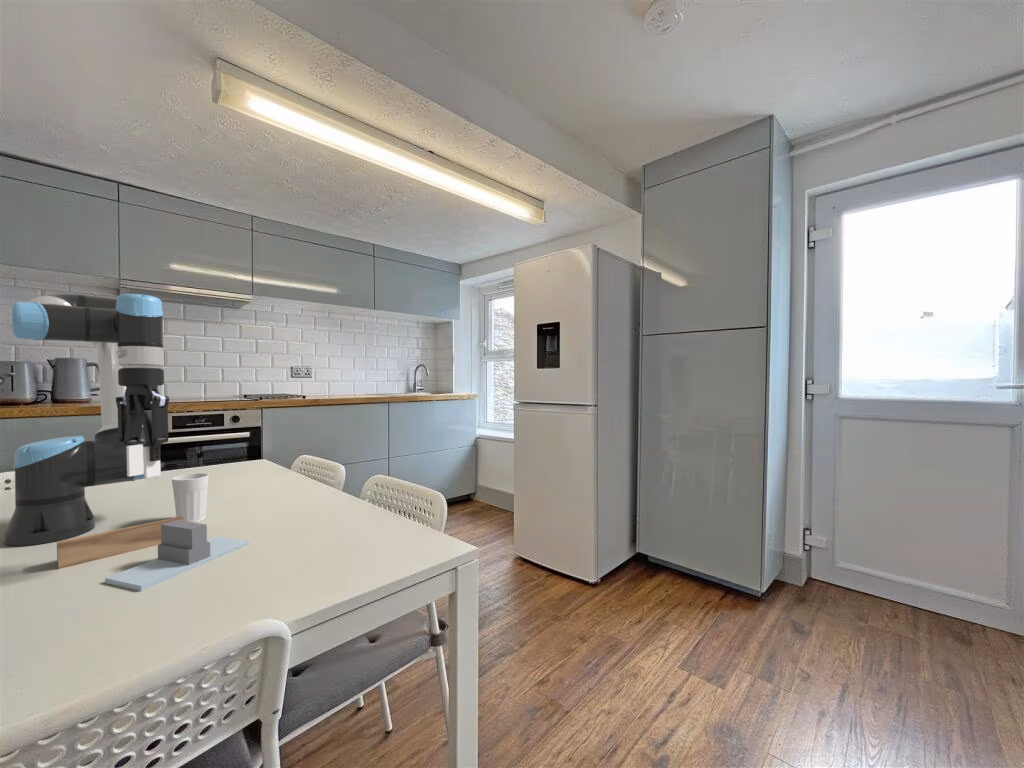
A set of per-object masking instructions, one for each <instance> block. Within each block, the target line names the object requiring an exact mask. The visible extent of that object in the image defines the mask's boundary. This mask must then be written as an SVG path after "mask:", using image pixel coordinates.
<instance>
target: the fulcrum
mask: <svg viewBox="0 0 1024 768" xmlns="http://www.w3.org/2000/svg"><path fill="white" fill-rule="evenodd" d="M207 526H208V525H207V524H205V523H199V522H186V521H179V520H175V521H171V522H168V523H165V524H161V544H159V545H157V558H155V559H152V560H150V561H147V562H144V563H142V564H139V565H136V566H133V567H132V568H128V569H125V570H123V571H119V572H117V573H114V574H111V575H108V576H107V577H104V583H105V584H108V585H113V586H116V587H117V586H118V587H122V588H126V589H130V590H134V591H139V592H142V591H145V590H148V589H149V588H151V587H154V586H157V585H159V584H160V583H164V582H166V581H168V580H170V579H173V578H175V577H178V576H179V575H183V574H184V573H186V572H189V571H191V570H194V569H196V568H198V567H201V566H204V565H205V564H208V563H210V562H212V560H213V561H216V560H217V559H219V557H220V558H222V557H223V556H226V554H227V555H229V554H231V553H233V551H234V552H236V551H238V550H241V549H242V547H243V548H245V547H247V546H250V545H251V544H250V541H248V540H243V539H238V538H237V539H236V538H230V537H223V536H219V535H217V536H215V537H212V538H210V539H208V536H207V535H208V529H207V528H208V527H207ZM235 550H236V551H235Z"/></svg>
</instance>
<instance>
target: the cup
mask: <svg viewBox="0 0 1024 768" xmlns="http://www.w3.org/2000/svg"><path fill="white" fill-rule="evenodd" d="M209 475H210V474H209V473H205V472H203V473H202V472H197V473H196V472H195V473H186V474H181V475H177V476H174V477H172V478H171V484H172V491H173V500H174V509H175V518H176V517H181V516H182V517H183V518H184V519H185V520H186V522H193V523H198V522H199V521H203V520H204V519H206V517H207V514H206V513H207V501H208V491H209V490H208V488H209V487H208V486H209V478H210V477H209Z"/></svg>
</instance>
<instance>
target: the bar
mask: <svg viewBox="0 0 1024 768" xmlns="http://www.w3.org/2000/svg"><path fill="white" fill-rule="evenodd" d="M175 520H179V521H186V520H185V519H184V518H183V517H182V516H181V517H176V516H175V517H172V518H166V519H163V520H156V521H152V522H146V523H142V524H137V525H133V526H132V525H130V526H128V527H123V528H122V527H121V528H118V529H112V530H108V531H103V532H98V533H93V534H86V535H82V536H76V537H71V538H67V539H63V540H58V541H56V559H57V560H56V563H57V564H56V565H57V567H58V568H57V569H59V570H60V569H65V568H68V567H69V568H71V567H73V566H78V565H81V564H86V563H90V562H94V561H99V560H103V559H107V558H111V557H114V556H118V555H122V554H127V553H130V552H135V551H140V550H144V549H148V548H152V547H156V546H158V545H159V544H161V524H165V523H168V522H171V521H175Z"/></svg>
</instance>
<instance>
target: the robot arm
mask: <svg viewBox="0 0 1024 768" xmlns="http://www.w3.org/2000/svg"><path fill="white" fill-rule="evenodd" d="M162 302H163V301H162V300H161V299H160V298H159V297H156V296H153V295H149V294H139V293H122V294H119V295H118V296H117V297H116V298H115V297H107V296H106V297H104V296H97V295H96V296H94V295H87V294H84V295H82V294H74V293H55V294H46V295H39V296H36V297H34V298H30V300H28V301H26V302H25V301H17V302H14V303H13V304H12V305H11V328H12V330H11V332H12V335H13V336H14V337H15V338H16V339H22V340H33V341H55V342H57V341H64V342H86V343H90V345H91V346H92V347H95V348H96V349H97V363H98V364H97V366H98V381H99V396H100V397H99V401H100V414H101V415H100V417H101V428H100V429H99V430H98V431H96V432H95V433H94V440H85V437H84V436H83V435H73V436H72V435H71V436H63V437H56V438H50V439H46V440H45V439H44V440H40V441H35V442H32V443H28V444H25V445H21V446H20V447H18V448H17V449H16V450H15V452H14V462H13V463H14V464H13V466H12V467H13V469H14V495H15V497H14V500H15V508H14V511H13V513H12V516H11V518H10V520H9V523H8V525H7V527H6V530H5V532H4V544H5V545H6V546H13V547H18V546H19V547H21V546H22V547H23V546H34V545H40V544H42V545H43V544H47V543H53V542H57V541H62V540H67V539H71V538H75V537H78V536H81V535H82V534H86V533H88V532H90V531H92V530H93V529H95V528H96V519H95V518H96V517H95V515H94V513H93V512H92V510H91V508H90V505H89V504H88V501H87V500H86V495H85V494H86V493H85V491H86V490H85V489H86V488H89V487H96V486H102V485H111V484H119V483H125V482H135V481H138V480H139V481H140V480H145V479H150V478H152V477H153V478H154V477H158V476H161V475H162V473H161V472H162V471H161V470H162V469H161V467H162V466H161V451H162V450H161V445H163V444H164V443H167V442H169V412H168V411H169V409H168V408H169V407H168V406H169V403H170V397H169V396H168V395H164V396H163V395H161V393H160V390H159V387H158V386H163V385H164V384H165V370H164V369H163V368H161V367H164V365H165V360H164V359H165V358H164V357H165V355H164V353H165V351H164V342H163V341H164V340H163V339H164V338H163V337H164V336H163V335H164V334H163V333H164V331H163V330H164V329H163V328H164V326H163V324H164V323H163V321H164V320H163V319H164V318H163V317H164V311H163V303H162Z"/></svg>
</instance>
